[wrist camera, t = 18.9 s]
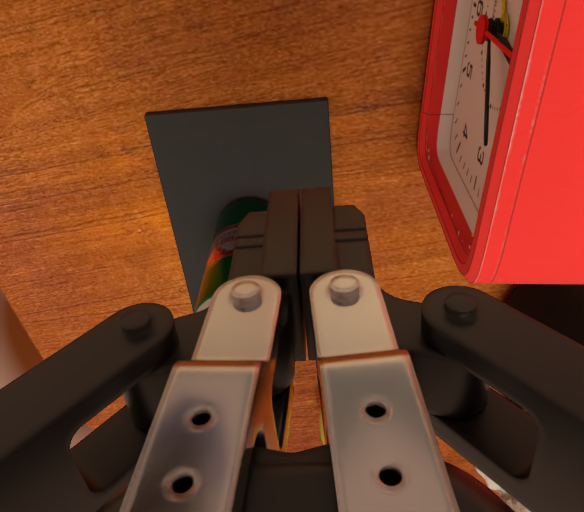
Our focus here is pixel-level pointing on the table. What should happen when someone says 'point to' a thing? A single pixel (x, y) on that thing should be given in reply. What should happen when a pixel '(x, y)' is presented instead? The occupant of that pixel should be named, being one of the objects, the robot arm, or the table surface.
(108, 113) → the table surface
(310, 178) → the rubber mat
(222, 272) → the soda can
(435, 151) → the alarm clock
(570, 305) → the mug
